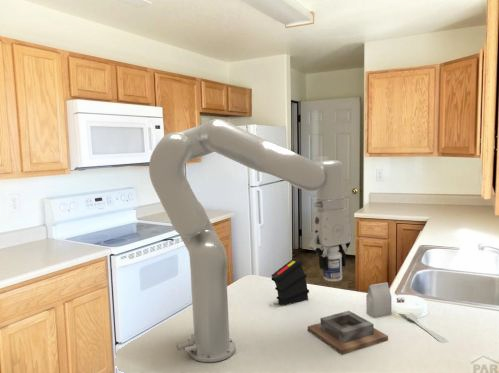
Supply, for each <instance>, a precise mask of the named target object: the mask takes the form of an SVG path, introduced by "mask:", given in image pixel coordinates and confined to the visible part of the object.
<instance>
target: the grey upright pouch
mask: <svg viewBox="0 0 499 373" xmlns="http://www.w3.org/2000/svg"><path fill="white" fill-rule="evenodd" d="M368 286H369V287H368V290H367V293H366V296H365V297H366V315H368V316H369V317H370V318H372V319H377V318H381V317H386V316H391V315H392V294H391V289H390V287H389V282H387V281H386V282H381V283H375V284H370V285H368Z"/></svg>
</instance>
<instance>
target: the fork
mask: <svg viewBox="0 0 499 373" xmlns="http://www.w3.org/2000/svg"><path fill="white" fill-rule="evenodd" d="M409 313H410V314H403V316H406V317H407V318H408V319H409V320H411V321H413V322H415V324H416V325H418V327H420V328H422V329H423V330H424V331H426V332H427V333H429V334H430V335H431V336H432V337H434V339H436V340H437V342H439V343H440V344H446V343H449V340H448V339H447V338H445V337H444V336H442V335H440V334H439V333H437V332H435V331H432V330H431V329H430V328H427V327H425V326H424V325H422V324H421V323H420V322H419V321H418V317H417V315H416V314H414V313H413V312H409Z"/></svg>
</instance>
